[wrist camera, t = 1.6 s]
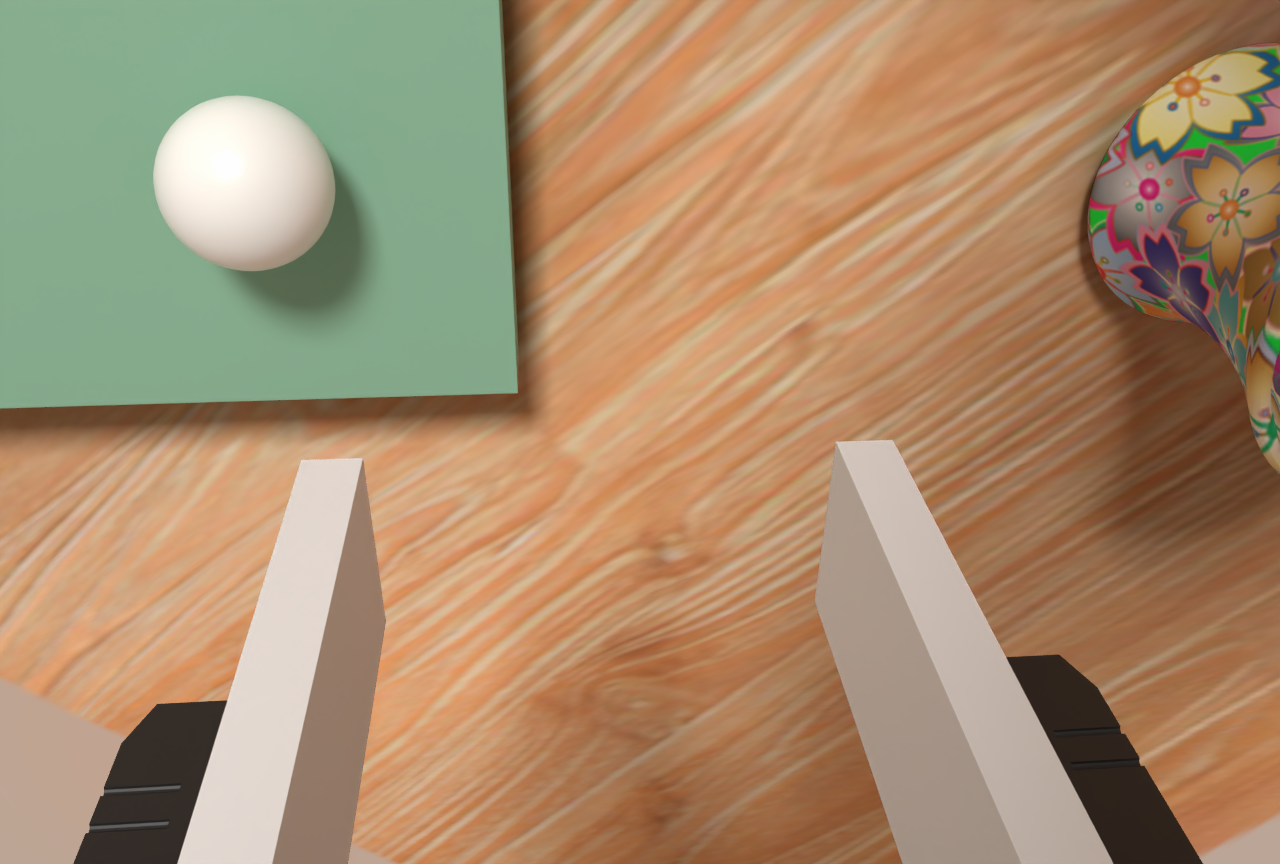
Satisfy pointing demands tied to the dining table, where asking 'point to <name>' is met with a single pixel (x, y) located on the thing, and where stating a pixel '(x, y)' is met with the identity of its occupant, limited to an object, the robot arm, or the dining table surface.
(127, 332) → the green golf putting board
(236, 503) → the dining table surface
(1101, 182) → the mug
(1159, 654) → the dining table surface
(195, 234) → the ball
